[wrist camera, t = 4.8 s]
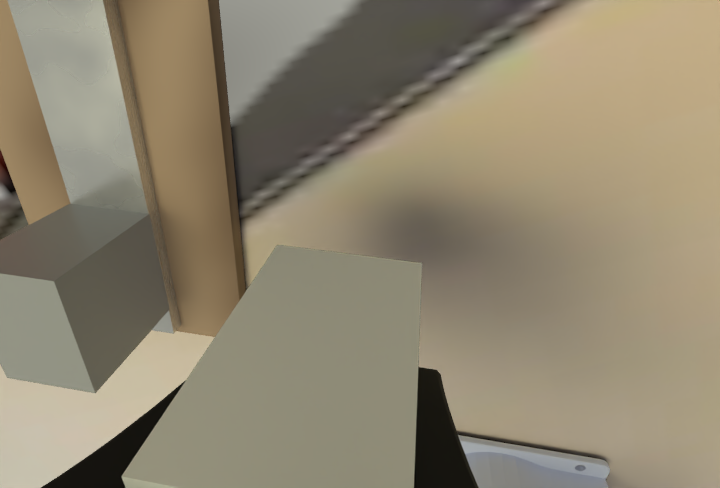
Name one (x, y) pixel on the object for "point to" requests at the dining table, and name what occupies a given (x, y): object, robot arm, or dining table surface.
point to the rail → (92, 111)
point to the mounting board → (153, 146)
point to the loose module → (300, 383)
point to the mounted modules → (78, 295)
